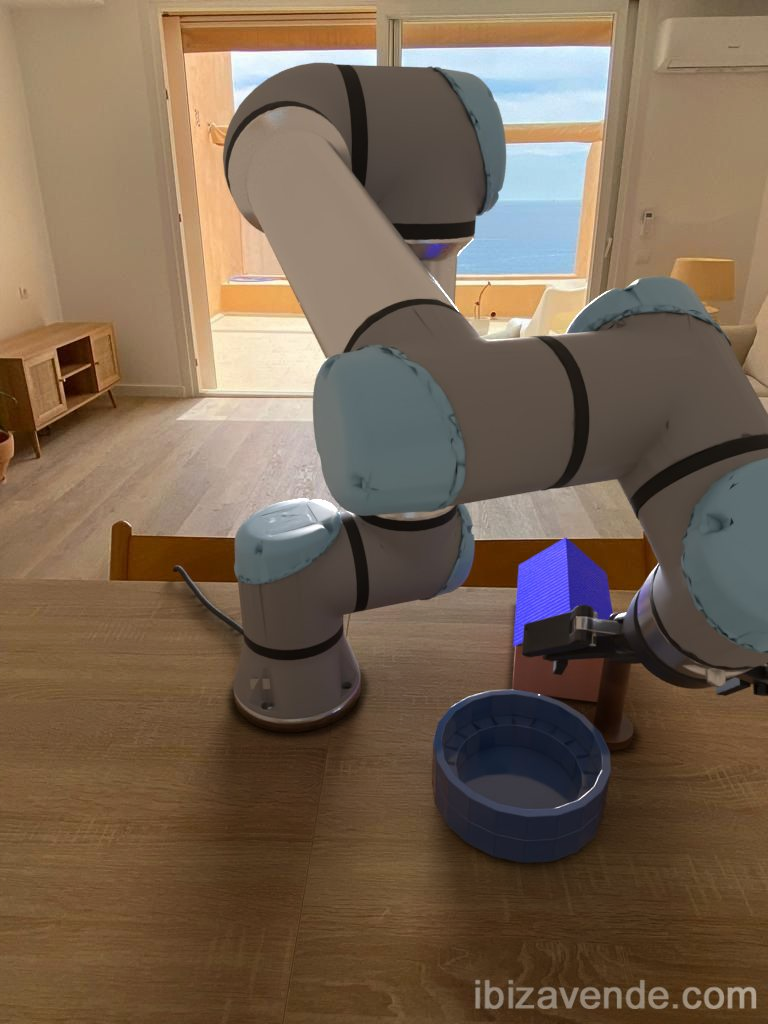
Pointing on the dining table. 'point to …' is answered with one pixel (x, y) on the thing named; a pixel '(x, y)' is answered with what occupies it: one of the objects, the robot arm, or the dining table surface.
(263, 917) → the dining table surface
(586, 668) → the house
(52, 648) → the dining table surface
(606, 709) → the muddler
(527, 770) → the bowl
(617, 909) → the dining table surface
